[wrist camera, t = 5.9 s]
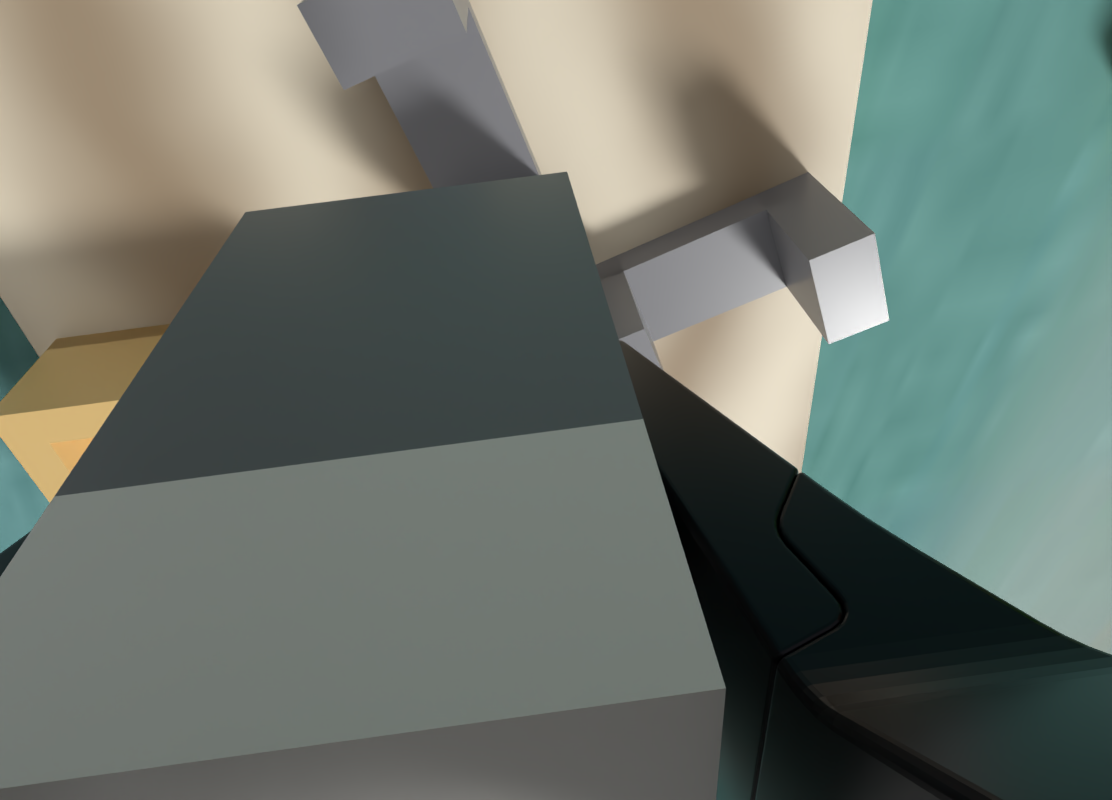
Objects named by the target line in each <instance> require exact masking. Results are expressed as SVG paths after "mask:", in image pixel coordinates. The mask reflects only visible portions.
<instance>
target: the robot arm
mask: <svg viewBox="0 0 1112 800" xmlns="http://www.w3.org/2000/svg"><path fill="white" fill-rule="evenodd" d="M619 342H620V345H621V349H622V352H623V355H624V358H625V362H626V365H627V368H628V371H629V375H630V378H631V381H632V384H633V388H634V391H635V394H636V397H637V401H638V404H639V407H640V410H641V414H642V417H643V420H644V423H645V427H646V430H647V433H648V436H649V440H650V443H651V446H652V449H653V453H654V456H655V459H656V462H657V466H658V469H659V472H660V475H661V479H662V482H663V485H664V488H665V492H666V495H667V498H668V501H669V505H670V508H671V511H672V514H673V518H674V521H675V524H676V527H677V531H678V534H679V537H680V540H681V544H682V547H683V550H684V553H685V557H686V560H687V563H688V566H689V570H690V573H691V576H692V579H693V583H694V586H695V589H696V592H697V596H698V599H699V602H700V605H701V609H702V612H703V615H704V618H705V622H706V625H707V628H708V631H709V635H710V638H711V641H712V644H713V648H714V651H715V654H716V657H717V661H718V664H719V667H720V670H721V674H722V677H723V680H724V683H725V687H726V693H725V704H724V716H723V727H722V738H721V749H720V760H719V771H718V782H717V794H716V800H1112V655H1111V654H1108V653H1105V652H1103V651H1100V650H1097V649H1095V648H1092V647H1089V646H1087V645H1085V644H1083V643H1081V642H1079V641H1076V640H1074V639H1072V638H1070V637H1068V636H1065V635H1063V634H1062V633H1060V632H1058V631H1056V630H1054V629H1053V628H1051V627H1049V626H1047V625H1045V624H1043V623H1042V622H1040V621H1038V620H1036V619H1035V618H1033V617H1031V616H1030V615H1028V614H1026V613H1025V612H1023V611H1021V610H1020V609H1018V608H1016V607H1014V606H1013V605H1011V604H1009V603H1008V602H1006V601H1004V600H1003V599H1001V598H999V597H998V596H996V595H994V594H993V593H991V592H989V591H987V590H986V589H984V588H982V587H981V586H979V585H977V584H976V583H974V582H972V581H971V580H969V579H967V578H966V577H964V576H962V575H960V574H959V573H957V572H955V571H954V570H952V569H950V568H949V567H947V566H945V565H944V564H942V563H940V562H939V561H937V560H935V559H933V558H932V557H930V556H928V555H927V554H925V553H923V552H922V551H920V550H918V549H917V548H915V547H913V546H912V545H910V544H909V543H907V542H905V541H904V540H902V539H900V538H899V537H897V536H896V535H894V534H892V533H891V532H889V531H888V530H886V529H884V528H883V527H881V526H880V525H878V524H876V523H875V522H873V521H872V520H870V519H868V518H867V517H865V516H864V515H862V514H861V513H860V512H858V511H857V510H855V509H854V508H852V507H851V506H849V505H848V504H847V503H845V502H844V501H842V500H841V499H839V498H838V497H836V496H835V495H834V494H832V493H831V492H829V491H828V490H826V489H825V488H824V487H822V486H821V485H820V484H818V483H817V482H815V481H814V480H813V479H811V478H810V477H809V476H807V475H806V474H805V473H799V472H798V469H797V468H796V467H795V466H793V465H792V464H790V463H789V462H788V461H786V460H785V459H784V458H782V457H781V456H780V455H778V454H777V453H775V452H774V451H773V450H771V449H770V448H769V447H767V446H766V445H765V444H763V443H762V442H760V441H759V440H758V439H756V438H755V437H754V436H752V435H751V434H750V433H748V432H747V431H745V430H744V429H743V428H741V427H740V426H739V425H737V424H736V423H735V422H733V421H732V420H730V419H729V418H728V417H726V416H725V415H724V414H722V413H721V412H720V411H718V410H717V409H715V408H714V407H713V406H711V405H710V404H709V403H707V402H706V401H705V400H703V399H702V398H700V397H699V396H698V395H696V394H695V393H694V392H692V391H691V390H690V389H688V388H687V387H685V386H684V385H683V384H681V383H680V382H679V381H677V380H676V379H675V378H673V377H672V376H670V375H669V374H668V373H666V372H665V371H664V370H662V369H661V368H660V367H658V366H657V365H655V364H654V363H653V362H651V361H650V360H649V359H647V358H646V357H644V356H643V355H642V354H640V353H639V352H638V351H636V350H635V349H634V348H632V347H631V346H629V345H628V344H627V343H625V342H624V341H621V340H619ZM798 473H799V474H798ZM30 532H31V531H30ZM30 532H29V533H30ZM29 533H28V534H26V535H25V536H23V537H22V538H21V539H19V540H18V541H17V542H15V543H14V544H13V545H11V546H10V547H8V548H7V549H6V550H4V551H3V552H2V553H0V576H1V575H2V573H3V572H4V571H5V569H6V568H7V566H8V565H9V563H10V562H11V560H12V559H13V557H14V556H15V554H16V553H17V551H18V550H19V548H20V547H21V545H22V544H23V542H24V541H25V539H26V538H27V536H28V535H29Z"/></svg>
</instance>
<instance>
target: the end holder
mask: <svg viewBox="0 0 1112 800" xmlns="http://www.w3.org/2000/svg"><path fill="white" fill-rule="evenodd" d="M169 325H170V324H165V325H158V326H150V327H142V328H135V329H127V330H119V331H112V332H104V333H96V334H89V335H81V336H73V337H66V338H58V339H56V340H55V341H54V342H53V343H52V344H51V345H50V346H49V348H48V349H47V350H46V351H45V352H44V353H43V354H42V355H41V357H40V358H39V359H38V360H37V361H36V362H35V363H34V364H33V366H32V367H31V368H30V369H29V370H28V371H27V372H26V373H25V375H24V376H23V377H22V378H21V379H20V380H19V381H18V382H17V384H16V385H15V386H14V387H13V388H12V389H11V390H10V391H9V393H8V394H7V395H6V396H5V397H4V398H3V399H2V400H1V402H0V437H1V438H2V440H3V441H4V442H5V444H6V445H7V446H8V448H9V449H10V450H11V452H12V453H13V454H14V456H15V457H16V458H17V460H18V461H19V462H20V464H21V465H22V466H23V468H24V469H25V470H26V472H27V473H28V474H29V476H30V477H31V478H32V480H33V481H34V482H35V484H36V485H37V486H38V488H39V489H40V490H41V492H42V493H43V494H44V496H45V497H46V498H47V500H48V501H49V502H51V501H52V499H53V498H54V496H55V495H56V493H57V492H58V490H59V489H60V487H61V486H62V484H63V483H64V481H65V480H66V478H67V477H68V475H69V474H70V472H71V471H72V469H73V468H74V466H75V465H76V463H77V462H78V460H79V459H80V457H81V456H82V454H83V453H84V451H85V450H86V449H87V447H88V446H89V444H90V443H91V441H92V440H93V438H94V437H95V435H96V434H97V432H98V431H99V429H100V428H101V426H102V425H103V423H104V422H105V420H106V419H107V417H108V416H109V414H110V413H111V411H112V410H113V408H114V407H115V405H116V404H117V402H118V401H119V399H120V398H121V396H122V395H123V393H124V392H125V391H126V389H127V388H128V386H129V385H130V383H131V382H132V380H133V379H134V377H135V376H136V374H137V373H138V371H139V370H140V368H141V367H142V365H143V364H144V362H145V361H146V359H147V358H148V356H149V355H150V353H151V352H152V350H153V349H154V347H155V346H156V344H157V343H158V341H159V340H160V338H161V337H162V335H163V334H164V332H165V331H166V330H167V328H168V327H169Z"/></svg>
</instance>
